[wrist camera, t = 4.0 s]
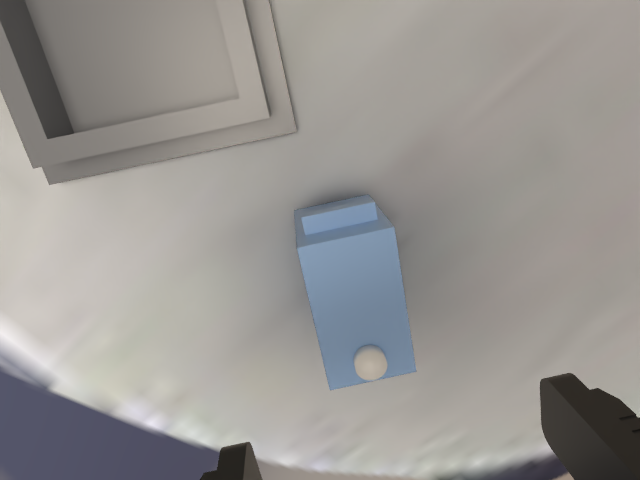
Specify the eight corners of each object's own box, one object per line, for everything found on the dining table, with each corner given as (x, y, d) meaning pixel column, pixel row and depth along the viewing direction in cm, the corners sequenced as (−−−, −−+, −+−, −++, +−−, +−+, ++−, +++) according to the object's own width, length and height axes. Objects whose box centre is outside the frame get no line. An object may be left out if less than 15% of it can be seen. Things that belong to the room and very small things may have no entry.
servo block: (365, 179, 23) (395, 212, 17) (389, 321, 26) (422, 394, 20) (290, 195, 23) (292, 234, 17) (322, 336, 26) (334, 413, 20)
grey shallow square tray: (226, -196, 18) (213, -261, 15) (296, 130, 22) (298, 137, 19) (-67, -134, 18) (-147, -186, 14) (59, 180, 22) (19, 196, 19)
